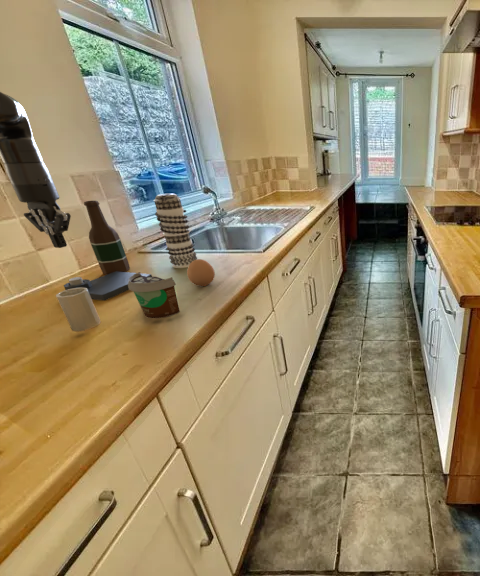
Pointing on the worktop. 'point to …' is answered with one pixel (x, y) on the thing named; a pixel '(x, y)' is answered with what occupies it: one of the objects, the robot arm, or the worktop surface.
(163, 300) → the food container
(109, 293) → the scale
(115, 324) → the worktop surface
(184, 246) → the white patterned cylinder
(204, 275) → the egg
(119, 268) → the beer bottle
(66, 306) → the cup
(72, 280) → the tare button
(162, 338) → the worktop surface
